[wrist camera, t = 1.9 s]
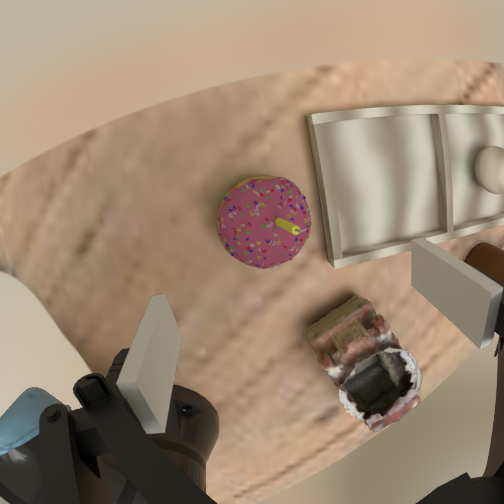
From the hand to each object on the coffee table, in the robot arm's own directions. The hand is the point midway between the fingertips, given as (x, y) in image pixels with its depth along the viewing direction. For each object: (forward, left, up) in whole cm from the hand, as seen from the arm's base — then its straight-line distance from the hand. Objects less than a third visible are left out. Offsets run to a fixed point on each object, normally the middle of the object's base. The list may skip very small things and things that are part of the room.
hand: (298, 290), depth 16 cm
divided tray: (+22, +1, -18) cm, 29 cm away
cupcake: (0, 0, -19) cm, 19 cm away
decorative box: (+11, -21, -19) cm, 30 cm away
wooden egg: (+29, +1, -18) cm, 34 cm away
